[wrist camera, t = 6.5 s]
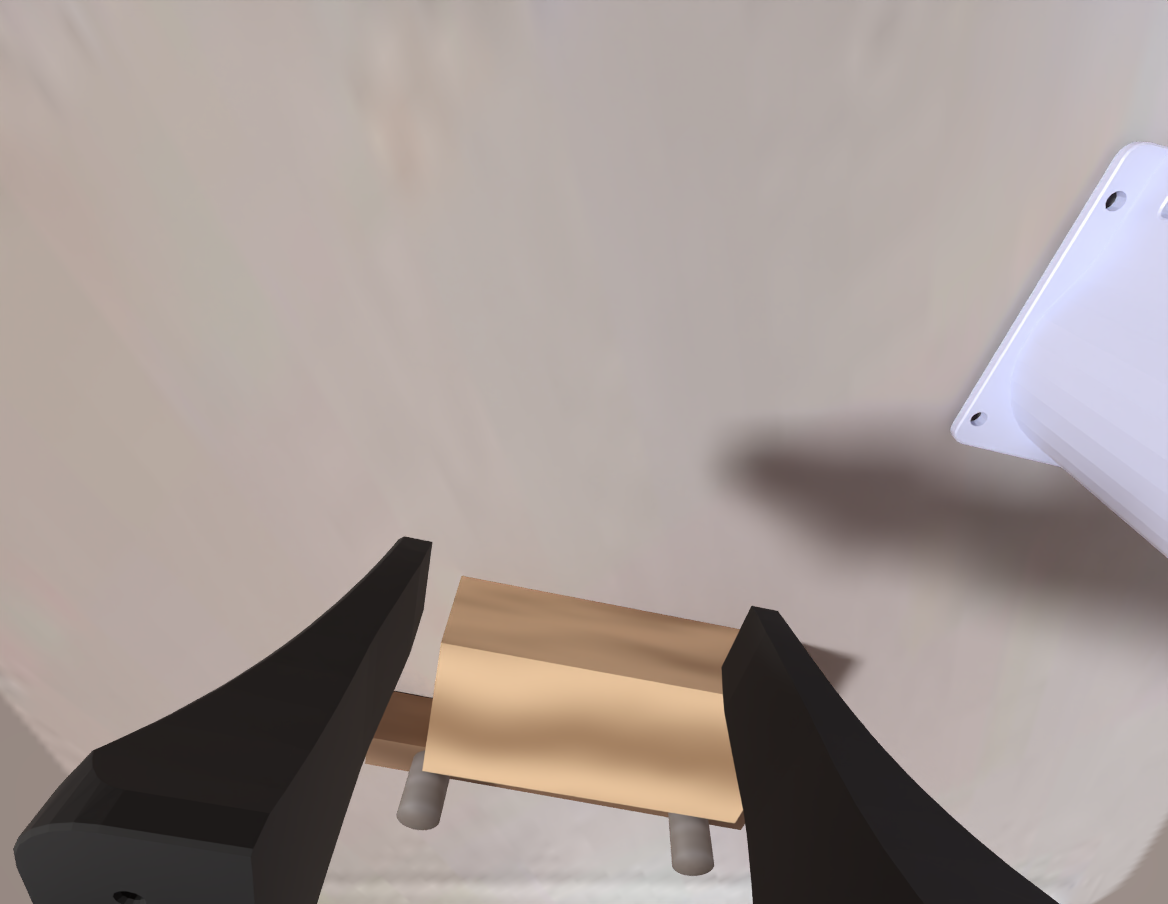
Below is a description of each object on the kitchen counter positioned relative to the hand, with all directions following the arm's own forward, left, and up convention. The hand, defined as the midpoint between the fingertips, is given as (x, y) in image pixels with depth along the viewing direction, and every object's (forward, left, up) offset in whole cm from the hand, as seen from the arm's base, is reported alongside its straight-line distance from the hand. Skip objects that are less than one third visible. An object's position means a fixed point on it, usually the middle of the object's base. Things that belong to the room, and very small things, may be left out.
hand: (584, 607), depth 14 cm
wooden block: (+13, +4, -10) cm, 16 cm away
